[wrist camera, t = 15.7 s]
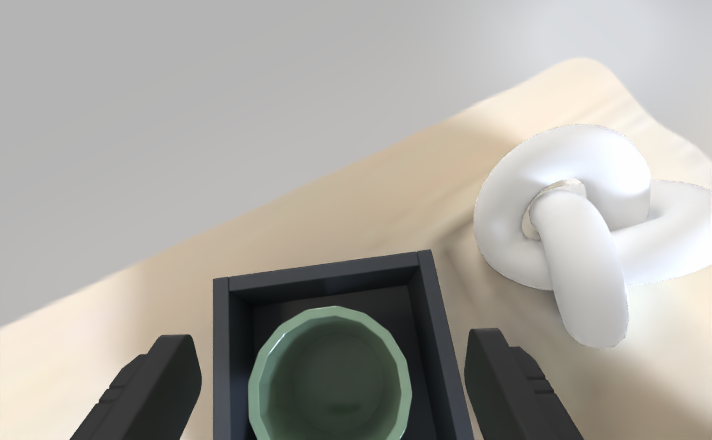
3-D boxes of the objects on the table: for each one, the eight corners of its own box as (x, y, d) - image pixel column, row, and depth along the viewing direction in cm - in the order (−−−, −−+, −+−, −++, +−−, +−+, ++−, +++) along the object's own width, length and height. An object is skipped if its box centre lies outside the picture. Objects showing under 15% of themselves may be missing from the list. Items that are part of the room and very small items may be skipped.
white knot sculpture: (577, 155, 29) (669, 69, 20) (680, 301, 25) (848, 267, 16) (446, 204, 27) (488, 132, 19) (533, 369, 23) (637, 370, 15)
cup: (379, 322, 23) (395, 296, 15) (397, 430, 21) (426, 470, 13) (284, 336, 23) (245, 317, 15) (291, 446, 21) (250, 499, 12)
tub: (414, 273, 25) (431, 248, 20) (456, 474, 21) (490, 508, 16) (242, 297, 24) (212, 278, 19) (248, 510, 20) (212, 559, 15)
